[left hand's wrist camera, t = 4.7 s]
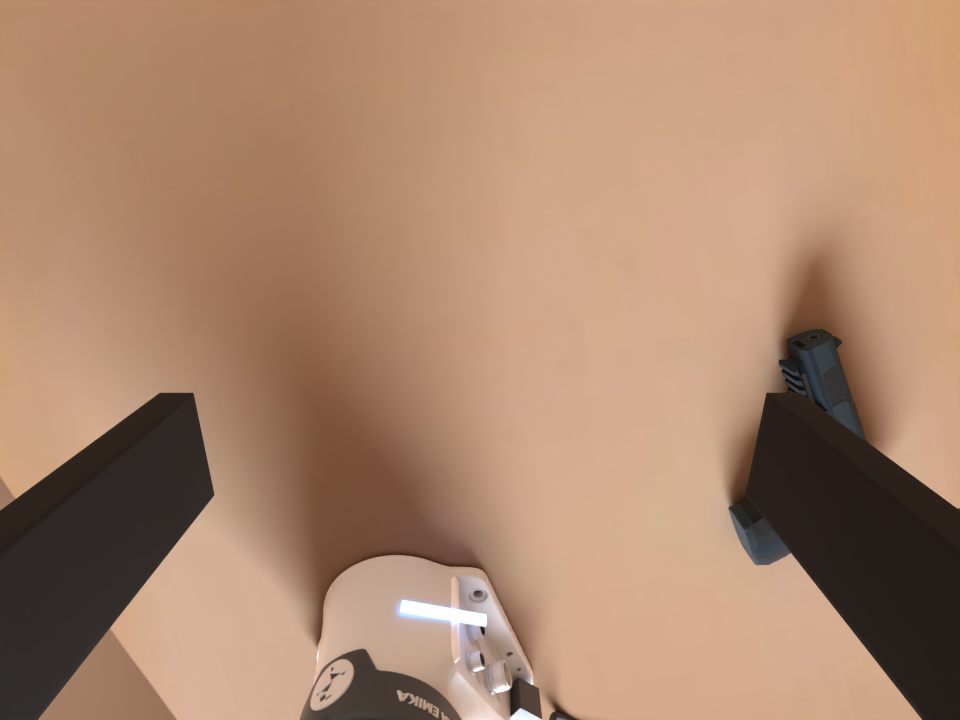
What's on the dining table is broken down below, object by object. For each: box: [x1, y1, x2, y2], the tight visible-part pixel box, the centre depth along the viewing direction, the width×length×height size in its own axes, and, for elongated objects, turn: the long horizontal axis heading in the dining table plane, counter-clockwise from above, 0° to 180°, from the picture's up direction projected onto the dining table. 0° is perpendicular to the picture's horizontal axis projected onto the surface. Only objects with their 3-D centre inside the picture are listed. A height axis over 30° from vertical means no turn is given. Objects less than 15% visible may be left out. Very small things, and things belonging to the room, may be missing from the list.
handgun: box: [729, 330, 867, 565], centre depth 43 cm, size 3×17×12 cm
